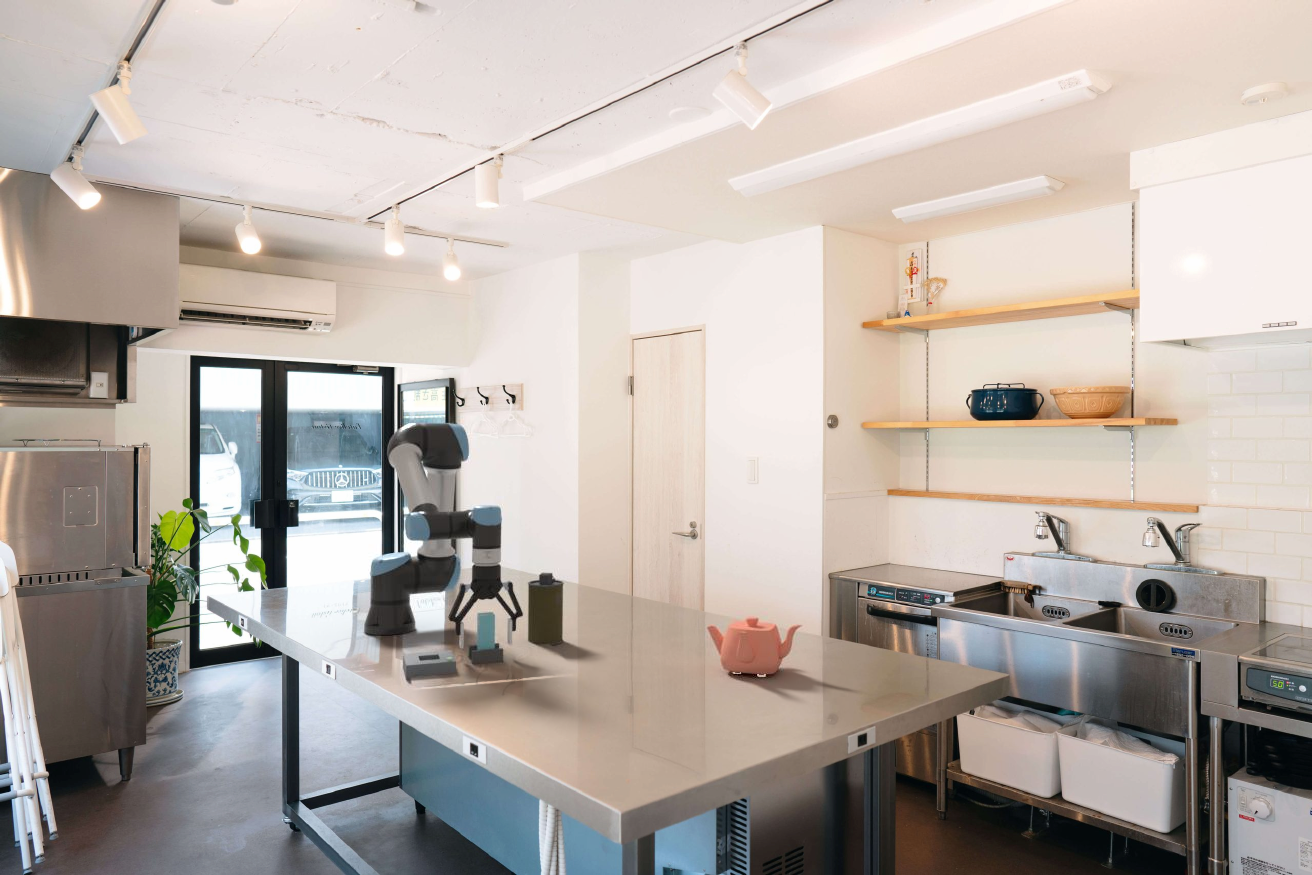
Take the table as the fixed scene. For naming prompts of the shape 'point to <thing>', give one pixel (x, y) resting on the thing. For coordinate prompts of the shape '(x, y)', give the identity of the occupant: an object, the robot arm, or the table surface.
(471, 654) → the holster
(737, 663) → the teapot
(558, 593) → the canister
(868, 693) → the table surface
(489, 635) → the plug
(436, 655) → the port
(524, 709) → the table surface
